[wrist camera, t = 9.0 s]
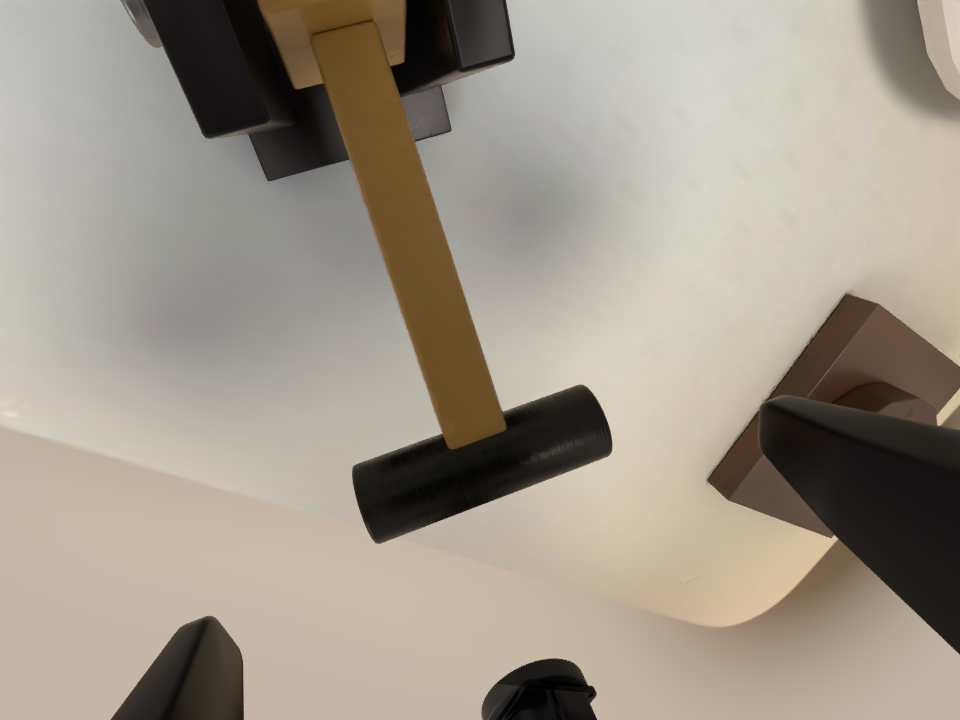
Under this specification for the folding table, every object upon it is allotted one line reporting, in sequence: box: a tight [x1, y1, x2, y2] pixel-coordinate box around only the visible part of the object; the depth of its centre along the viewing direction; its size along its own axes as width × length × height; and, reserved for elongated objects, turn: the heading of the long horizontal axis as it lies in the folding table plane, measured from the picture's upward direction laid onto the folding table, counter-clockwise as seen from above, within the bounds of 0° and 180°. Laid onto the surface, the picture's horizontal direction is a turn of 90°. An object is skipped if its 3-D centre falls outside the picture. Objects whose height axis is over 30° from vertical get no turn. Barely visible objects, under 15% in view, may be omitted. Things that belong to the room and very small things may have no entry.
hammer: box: [257, 0, 612, 544], centre depth 9 cm, size 11×4×2 cm, turn 13°
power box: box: [708, 294, 960, 538], centre depth 27 cm, size 12×10×4 cm
